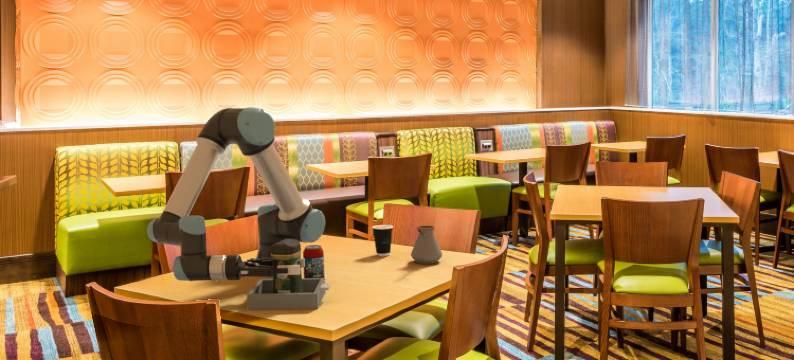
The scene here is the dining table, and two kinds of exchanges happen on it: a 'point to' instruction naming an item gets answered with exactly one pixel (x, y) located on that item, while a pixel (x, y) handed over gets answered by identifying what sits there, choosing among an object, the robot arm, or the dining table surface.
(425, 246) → the coffee pot
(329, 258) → the dining table surface
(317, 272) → the beverage can
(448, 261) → the dining table surface
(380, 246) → the dixie cup
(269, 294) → the tray
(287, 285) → the coffee jar
